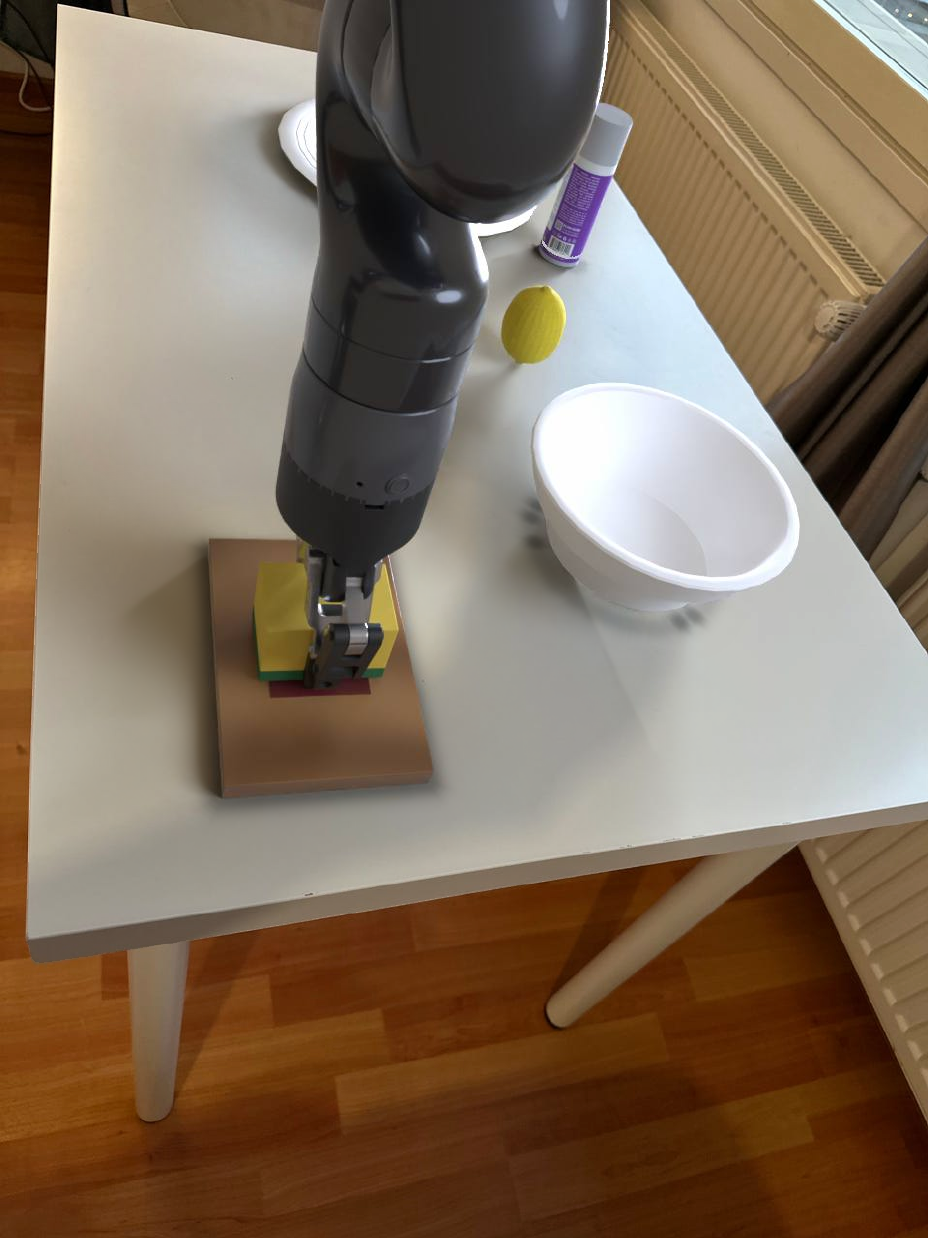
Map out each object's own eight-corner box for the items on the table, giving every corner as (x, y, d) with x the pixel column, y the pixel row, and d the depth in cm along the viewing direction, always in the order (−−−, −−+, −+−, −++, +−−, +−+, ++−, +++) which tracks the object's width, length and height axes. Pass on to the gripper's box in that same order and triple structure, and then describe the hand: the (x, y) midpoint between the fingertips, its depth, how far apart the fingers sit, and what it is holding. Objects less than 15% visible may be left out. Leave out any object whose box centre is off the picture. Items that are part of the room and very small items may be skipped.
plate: (544, 167, 109) (549, 152, 108) (515, 284, 90) (521, 267, 89) (318, 83, 106) (320, 67, 105) (238, 186, 87) (240, 167, 86)
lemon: (490, 338, 83) (517, 261, 77) (546, 352, 84) (576, 278, 78) (490, 373, 80) (517, 296, 74) (548, 387, 81) (579, 312, 75)
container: (586, 265, 97) (643, 125, 85) (555, 269, 94) (609, 126, 83) (561, 240, 99) (614, 101, 87) (530, 244, 96) (580, 101, 85)
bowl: (764, 532, 76) (818, 463, 70) (715, 706, 62) (777, 639, 56) (549, 423, 77) (583, 345, 71) (455, 569, 64) (487, 489, 58)
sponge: (258, 681, 52) (266, 631, 48) (252, 613, 54) (259, 561, 51) (382, 677, 54) (399, 629, 50) (370, 612, 57) (385, 563, 53)
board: (428, 783, 53) (435, 771, 51) (222, 799, 49) (223, 786, 47) (382, 555, 63) (386, 540, 61) (207, 552, 59) (208, 536, 57)
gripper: (271, 336, 44) (245, 556, 57) (301, 552, 36) (262, 752, 49) (414, 350, 47) (358, 558, 60) (472, 555, 39) (392, 744, 51)
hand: (315, 644), depth 54 cm, fingers closed on sponge, 5 cm apart
